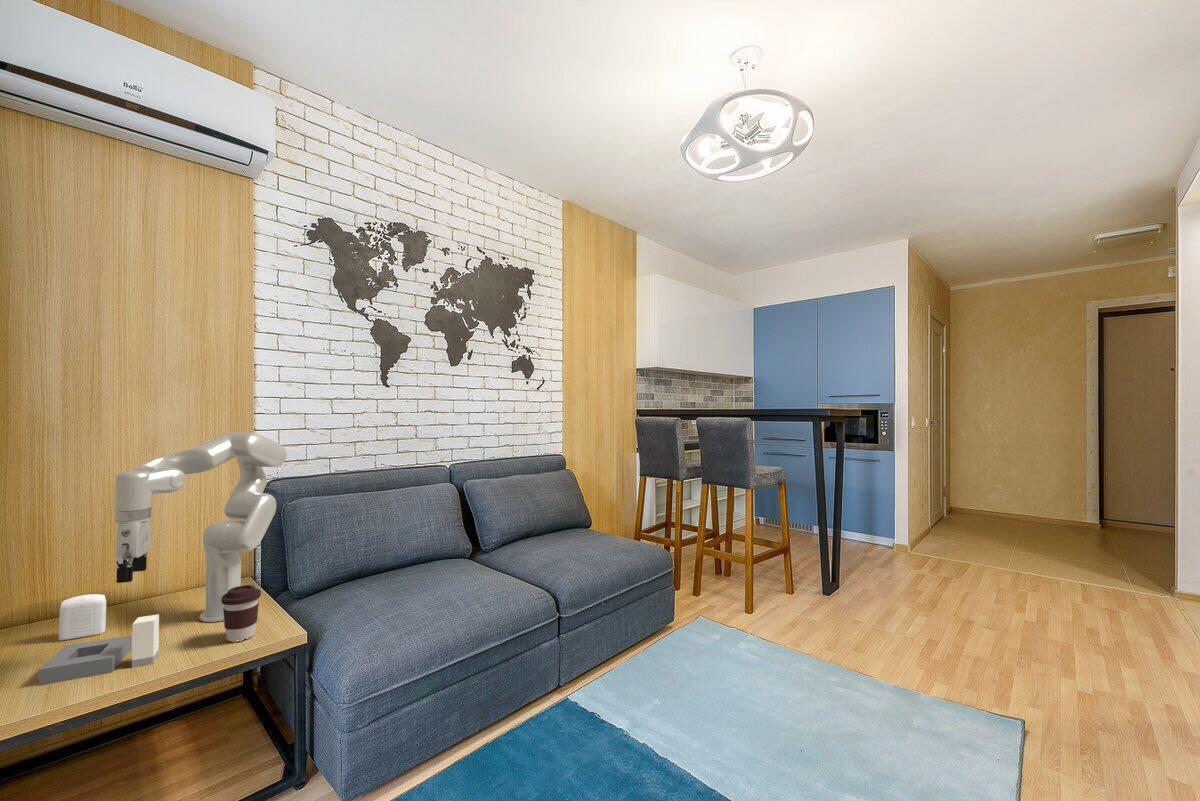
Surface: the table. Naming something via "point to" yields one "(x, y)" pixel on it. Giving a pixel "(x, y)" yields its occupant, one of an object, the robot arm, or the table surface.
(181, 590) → the table surface
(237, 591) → the coffee cup
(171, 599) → the table surface
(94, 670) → the socket box
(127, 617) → the table surface
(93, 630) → the photo printer
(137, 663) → the plug
